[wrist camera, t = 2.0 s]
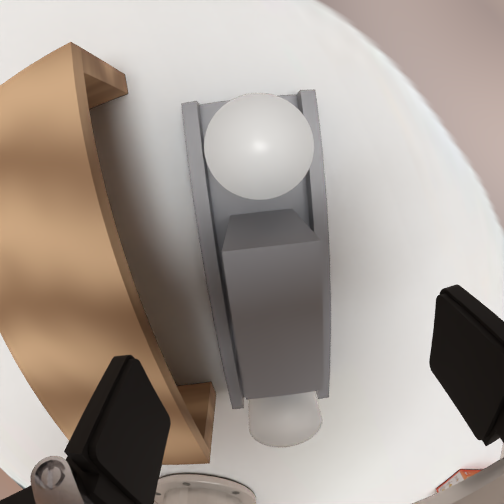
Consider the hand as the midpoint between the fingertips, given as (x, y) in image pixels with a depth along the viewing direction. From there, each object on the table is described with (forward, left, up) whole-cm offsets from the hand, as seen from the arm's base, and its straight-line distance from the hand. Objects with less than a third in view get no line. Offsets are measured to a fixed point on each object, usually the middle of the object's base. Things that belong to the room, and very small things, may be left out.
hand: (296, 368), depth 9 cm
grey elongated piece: (-1, 0, -12) cm, 12 cm away
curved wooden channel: (+1, +11, -11) cm, 16 cm away
